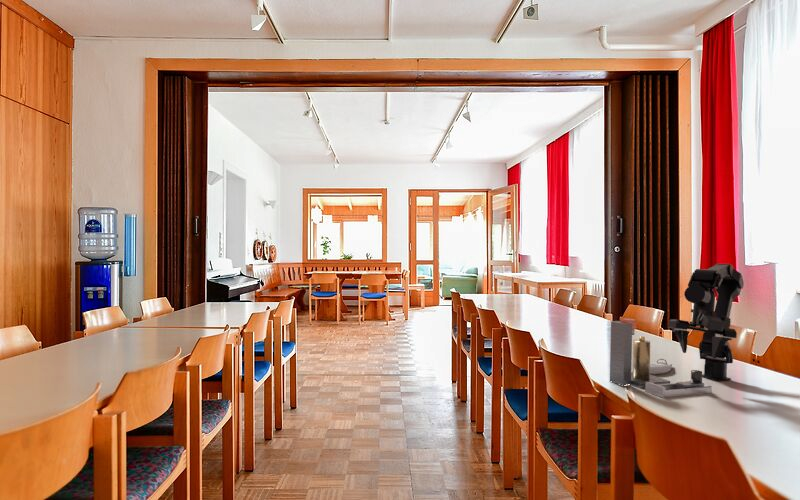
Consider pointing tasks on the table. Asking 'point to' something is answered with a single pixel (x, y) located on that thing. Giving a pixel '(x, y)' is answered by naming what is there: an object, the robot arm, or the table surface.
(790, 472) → the table surface
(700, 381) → the sliding block with knob
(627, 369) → the press bed
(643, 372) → the disc
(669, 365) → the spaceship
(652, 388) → the guide rail
